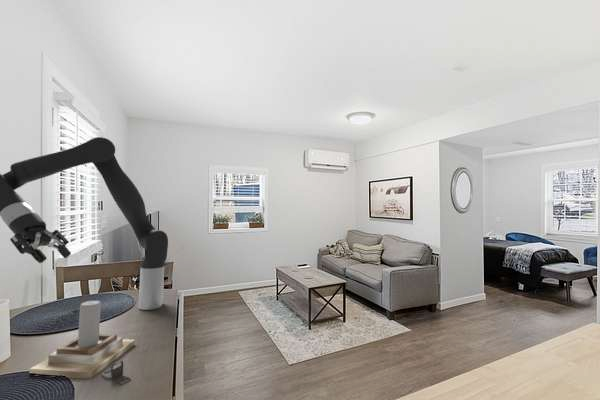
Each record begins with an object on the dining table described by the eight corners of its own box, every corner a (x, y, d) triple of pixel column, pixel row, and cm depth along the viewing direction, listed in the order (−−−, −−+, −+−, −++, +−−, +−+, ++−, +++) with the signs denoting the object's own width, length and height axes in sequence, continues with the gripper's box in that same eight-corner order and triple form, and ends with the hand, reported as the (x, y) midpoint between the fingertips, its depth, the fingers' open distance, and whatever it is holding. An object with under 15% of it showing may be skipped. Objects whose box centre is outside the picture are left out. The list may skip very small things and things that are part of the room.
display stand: (85, 341, 90) (86, 326, 90) (134, 344, 89) (135, 329, 89) (29, 374, 72) (30, 356, 72) (90, 378, 71) (91, 359, 71)
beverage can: (86, 350, 78) (89, 306, 78) (72, 347, 79) (75, 304, 79) (102, 342, 83) (105, 301, 83) (89, 340, 84) (91, 299, 84)
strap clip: (100, 377, 72) (101, 360, 73) (112, 371, 75) (113, 355, 75) (119, 387, 69) (120, 370, 69) (132, 381, 71) (133, 364, 71)
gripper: (7, 212, 82) (43, 253, 81) (52, 211, 96) (83, 247, 95) (-12, 230, 82) (24, 271, 81) (36, 226, 96) (67, 262, 95)
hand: (56, 258), depth 88 cm, fingers open, 8 cm apart
